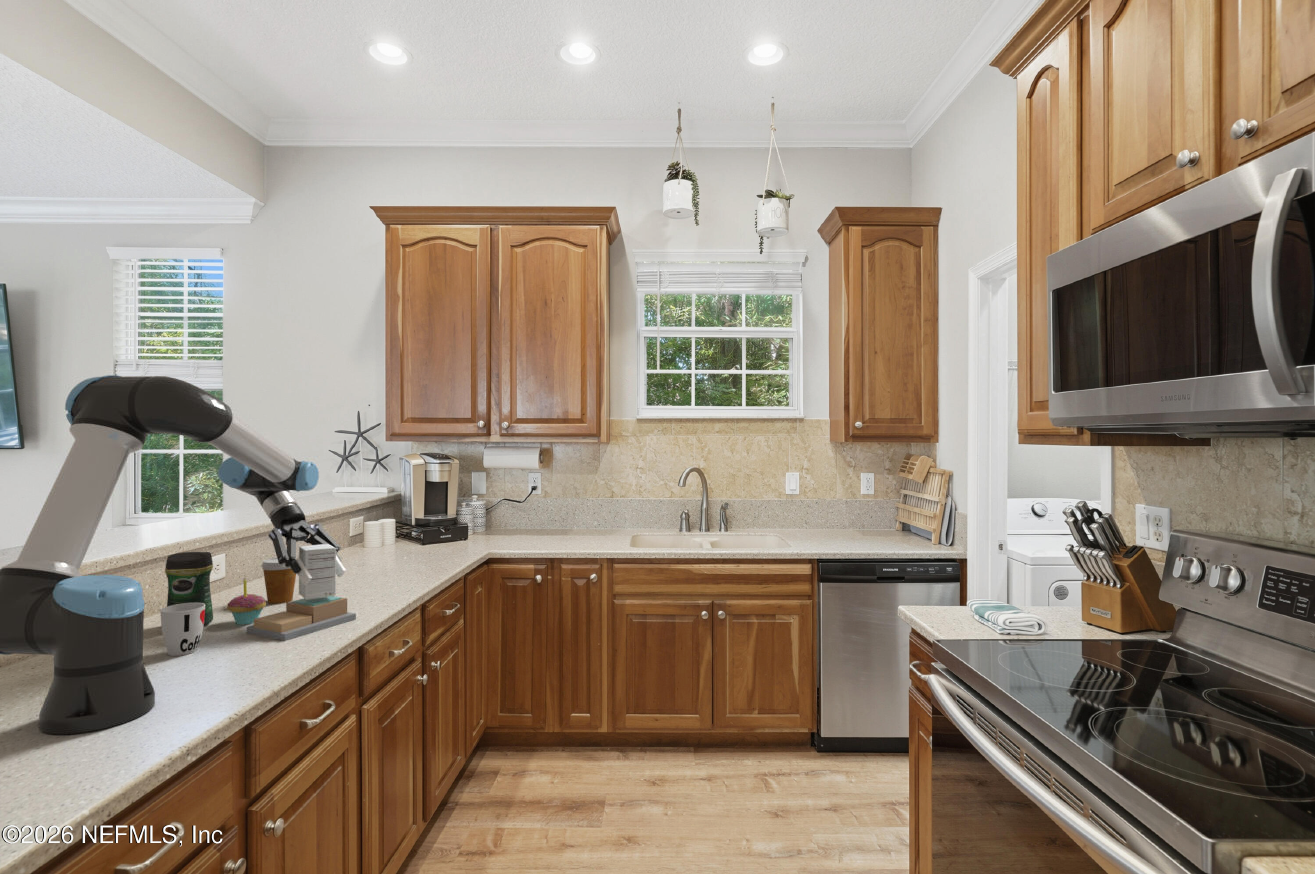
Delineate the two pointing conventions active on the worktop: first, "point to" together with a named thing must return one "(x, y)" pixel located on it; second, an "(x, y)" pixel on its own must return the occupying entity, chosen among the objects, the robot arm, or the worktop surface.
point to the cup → (182, 627)
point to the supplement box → (318, 571)
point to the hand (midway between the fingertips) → (325, 577)
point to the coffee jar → (190, 580)
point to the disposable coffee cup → (278, 581)
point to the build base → (302, 629)
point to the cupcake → (246, 607)
